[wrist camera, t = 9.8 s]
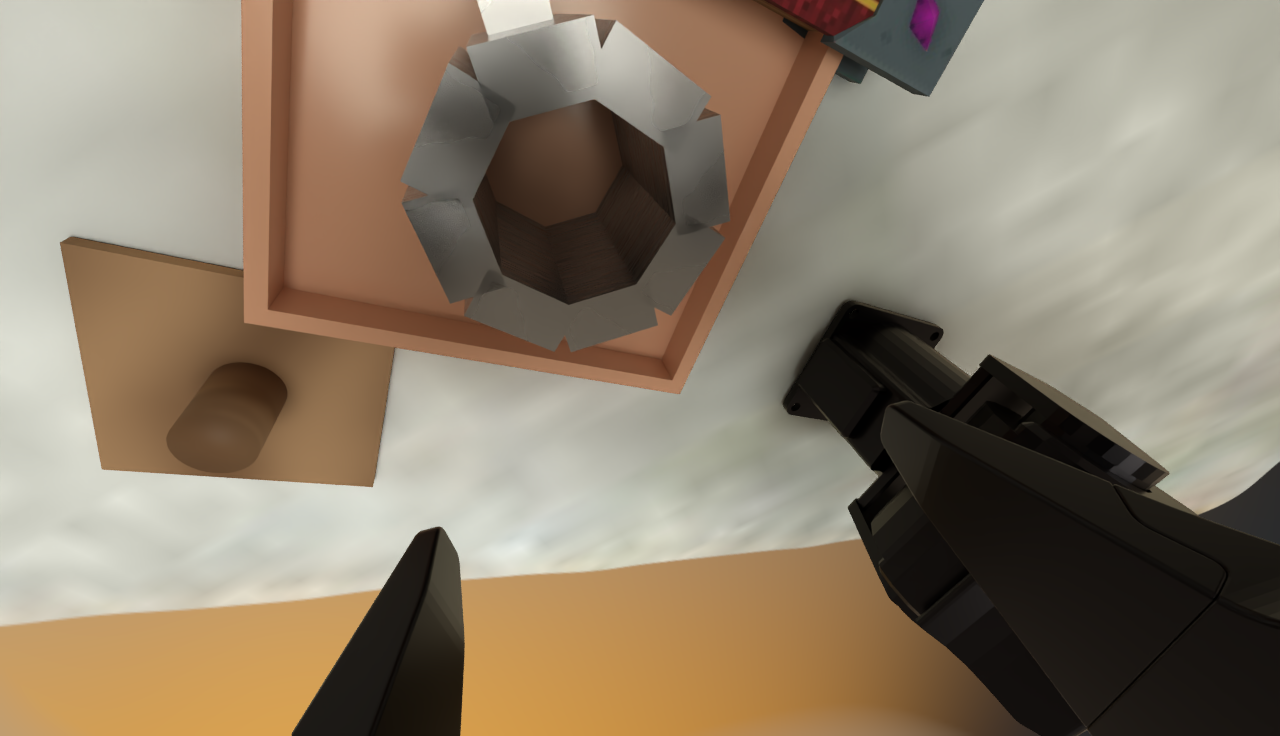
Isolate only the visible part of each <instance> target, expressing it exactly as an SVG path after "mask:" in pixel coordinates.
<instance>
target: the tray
mask: <svg viewBox="0 0 1280 736" xmlns="http://www.w3.org/2000/svg"><path fill="white" fill-rule="evenodd" d="M549 2H550V6H551V10H552V14H553V15H554V14H584V15H594V17H595V19H606V20H617V21H618V22H619V23H621V24H622V25H623V26H624V27H626V28H627V29H628V30H629V31H630V32H632V33H633V34H634V35H635V36H637V37H638V38H639V39H640V40H642V41H643V42H644V43H645V44H647V45H648V46H649V47H650V48H652V49H653V50H654V51H655V52H657V53H658V54H659V55H660V56H662V57H663V58H664V59H665V60H667V61H668V62H669V63H670V64H672V65H673V66H674V67H675V68H677V69H678V70H679V71H680V72H682V73H683V74H684V75H685V76H687V77H688V78H689V79H690V80H692V81H693V82H694V83H695V84H697V85H698V86H699V87H700V88H701V89H703V90H704V91H705V92H706V93H708V94H709V95H710V96H711V98H710V100H709V101H708V103H707V105H706V106H705V108H706V109H708V110H711V111H713V112H715V113H718V114H720V115H721V124H722V135H723V146H724V157H725V168H726V179H727V190H728V201H729V212H730V221H729V222H725V223H722V224H719V225H715V226H713V227H714V228H715V229H716V230H717V231H718V232H719V233H720V234H722V235H723V236H724V237H725V239H724V241H723V242H722V244H721V245H720V247H719V248H718V249H717V251H716V252H715V254H714V255H713V257H712V258H711V259H710V261H709V262H708V264H707V265H706V267H705V268H704V269H703V271H702V272H701V274H700V275H699V277H698V278H697V280H696V281H695V282H694V284H693V285H692V287H691V288H690V290H689V291H688V292H687V294H686V295H685V297H684V298H683V300H682V301H681V302H680V304H679V305H678V307H677V308H676V310H675V311H674V312H673V314H672V315H671V316H670V315H668V314H666V313H664V312H662V311H660V310H658V309H656V308H655V313H656V318H657V323H658V326H654V327H651V328H648V329H645V330H641V331H638V332H635V333H632V334H629V335H625V336H622V337H619V338H616V339H612V340H609V341H606V342H603V343H600V344H596V345H593V346H590V347H587V348H583V349H580V350H577V351H574V352H571V351H570V348H569V345H568V343H567V340H566V337H565V336H564V337H563V339H562V340H561V342H560V344H559V345H558V347H557V349H556V350H555V352H554V351H551V350H548V349H546V348H543V347H541V346H538V345H536V344H533V343H531V342H528V341H526V340H523V339H521V338H518V337H516V336H513V335H511V334H508V333H506V332H503V331H501V330H498V329H496V328H493V327H490V326H488V325H485V324H483V323H480V322H478V321H475V320H473V319H470V318H468V317H465V316H464V307H465V300H461V301H458V302H454V303H451V304H450V302H449V300H448V298H447V296H446V294H445V292H444V290H443V288H442V286H441V284H440V282H439V280H438V278H437V276H436V273H435V271H434V269H433V267H432V265H431V263H430V261H429V259H428V257H427V255H426V253H425V251H424V249H423V247H422V245H421V243H420V240H419V238H418V236H417V234H416V232H415V230H414V228H413V226H412V224H411V222H410V220H409V218H408V216H407V214H406V212H405V210H404V208H403V205H402V203H401V202H402V200H403V197H404V195H405V192H406V190H407V188H408V185H407V184H405V183H403V182H401V181H400V180H401V178H402V175H403V173H404V170H405V168H406V165H407V163H408V161H409V158H410V156H411V153H412V151H413V148H414V146H415V143H416V141H417V139H418V136H419V134H420V131H421V129H422V126H423V124H424V121H425V119H426V117H427V114H428V112H429V109H430V107H431V104H432V102H433V99H434V97H435V95H436V92H437V90H438V87H439V85H440V82H441V80H442V77H443V75H444V73H445V70H446V68H447V65H448V63H449V61H450V60H451V58H452V56H453V55H454V53H455V52H456V50H457V49H458V47H459V46H460V47H462V48H463V49H465V50H466V51H467V48H466V46H467V44H468V42H469V39H470V37H471V35H474V34H478V33H482V32H486V28H485V24H484V21H483V18H482V15H481V12H480V9H479V6H478V2H477V0H241V16H242V139H243V263H244V323H249V324H255V325H261V326H267V327H273V328H279V329H285V330H291V331H297V332H304V333H310V334H316V335H322V336H328V337H334V338H340V339H346V340H352V341H358V342H365V343H371V344H377V345H383V346H389V347H395V348H401V349H407V350H413V351H419V352H425V353H432V354H438V355H444V356H450V357H456V358H462V359H468V360H474V361H480V362H486V363H493V364H499V365H505V366H511V367H517V368H523V369H529V370H535V371H541V372H547V373H553V374H560V375H566V376H572V377H578V378H584V379H590V380H596V381H602V382H608V383H614V384H620V385H627V386H633V387H639V388H645V389H651V390H657V391H663V392H669V393H675V394H680V392H681V390H682V388H683V386H684V384H685V382H686V380H687V378H688V376H689V374H690V372H691V370H692V368H693V365H694V363H695V361H696V359H697V357H698V355H699V353H700V351H701V349H702V347H703V345H704V343H705V341H706V339H707V337H708V334H709V332H710V330H711V328H712V326H713V324H714V322H715V320H716V318H717V316H718V314H719V312H720V310H721V308H722V306H723V303H724V301H725V299H726V297H727V295H728V293H729V291H730V289H731V287H732V285H733V283H734V281H735V279H736V277H737V275H738V272H739V270H740V268H741V266H742V264H743V262H744V260H745V258H746V256H747V254H748V252H749V250H750V248H751V246H752V244H753V241H754V239H755V237H756V235H757V233H758V231H759V229H760V227H761V225H762V223H763V221H764V219H765V217H766V215H767V213H768V210H769V208H770V206H771V204H772V202H773V200H774V198H775V196H776V194H777V192H778V190H779V188H780V186H781V184H782V182H783V179H784V177H785V175H786V173H787V171H788V169H789V167H790V165H791V163H792V161H793V159H794V157H795V155H796V153H797V151H798V148H799V146H800V144H801V142H802V140H803V138H804V136H805V134H806V132H807V130H808V128H809V126H810V124H811V122H812V119H813V117H814V115H815V113H816V111H817V109H818V107H819V105H820V103H821V101H822V99H823V97H824V95H825V93H826V91H827V88H828V86H829V84H830V82H831V80H832V78H833V76H834V74H835V72H836V70H837V68H838V66H839V64H840V62H841V60H842V57H843V54H841V53H839V52H837V51H836V50H834V49H832V48H830V47H829V46H827V45H825V44H823V43H821V42H820V41H821V39H822V37H823V35H824V34H823V33H821V32H818V31H808V32H807V35H806V37H805V39H804V38H803V37H801V36H800V35H799V34H798V33H796V32H795V31H794V30H793V29H791V28H790V27H789V26H788V25H786V24H785V23H784V22H783V18H784V17H782V16H780V15H779V14H777V13H775V12H773V11H772V10H770V9H768V8H766V7H764V6H763V5H761V4H759V3H757V2H755V1H754V0H549ZM621 167H622V161H621V157H620V152H619V147H618V142H617V137H616V133H615V128H614V123H613V118H612V114H611V110H610V109H608V108H607V107H606V106H604V105H603V104H601V103H600V102H598V101H597V100H595V99H593V100H589V101H586V102H582V103H578V104H574V105H571V106H567V107H563V108H559V109H556V110H552V111H548V112H544V113H541V114H537V115H533V116H529V117H526V118H522V119H518V120H514V121H511V122H509V124H508V126H507V128H506V130H505V132H504V135H503V137H502V139H501V141H500V143H499V145H498V147H497V149H496V151H495V154H494V156H493V158H492V160H491V162H490V164H489V166H488V168H487V170H486V175H487V178H488V181H489V183H490V186H491V189H492V191H493V194H494V197H495V199H496V201H497V202H499V203H501V204H503V205H505V206H507V207H509V208H511V209H513V210H514V211H516V212H518V213H520V214H522V215H524V216H526V217H528V218H530V219H532V220H534V221H535V222H537V223H539V224H541V225H543V226H545V227H546V226H549V225H553V224H556V223H560V222H563V221H567V220H570V219H574V218H577V217H581V216H584V215H588V214H591V213H595V212H596V210H597V208H598V207H599V205H600V203H601V202H602V200H603V198H604V196H605V195H606V193H607V191H608V189H609V188H610V186H611V184H612V182H613V181H614V179H615V177H616V176H617V174H618V172H619V170H620V169H621Z"/></svg>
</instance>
